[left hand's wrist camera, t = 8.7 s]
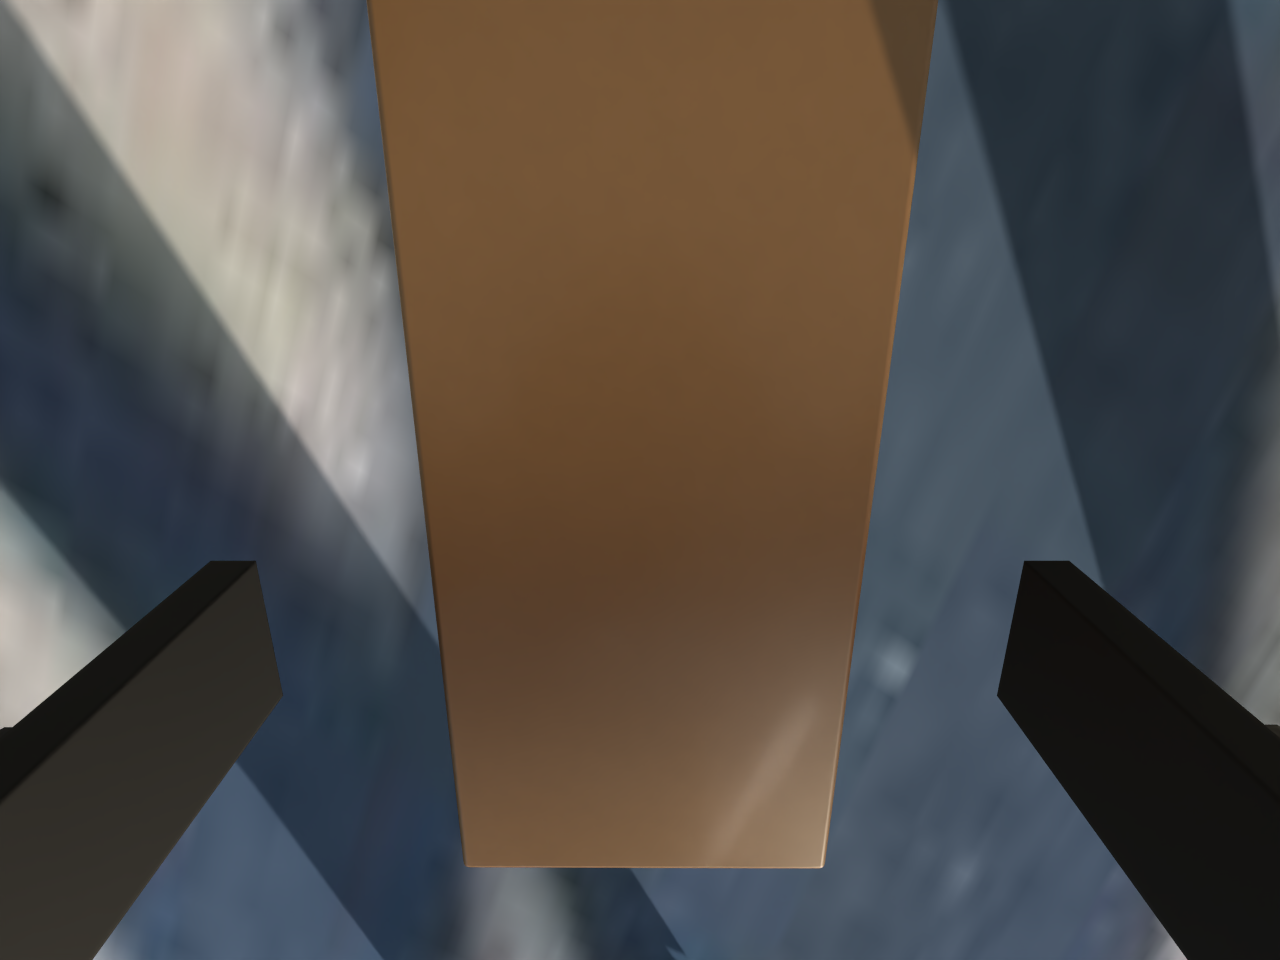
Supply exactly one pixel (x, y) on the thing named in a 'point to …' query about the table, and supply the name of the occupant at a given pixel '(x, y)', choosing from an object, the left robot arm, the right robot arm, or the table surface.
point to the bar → (648, 400)
